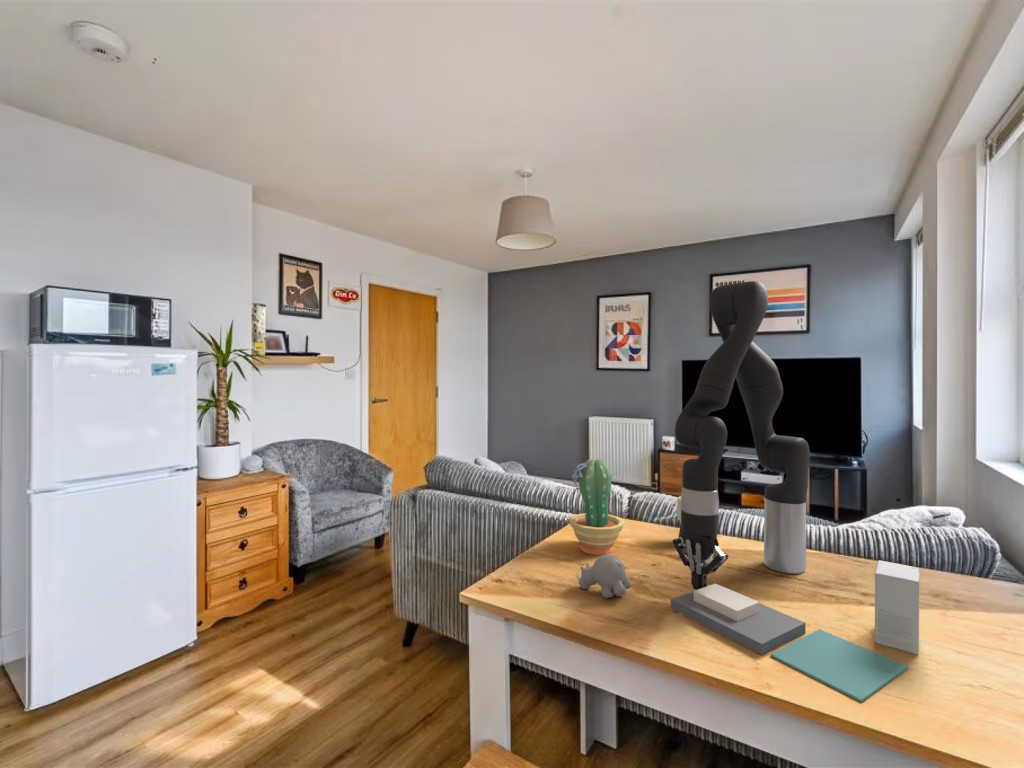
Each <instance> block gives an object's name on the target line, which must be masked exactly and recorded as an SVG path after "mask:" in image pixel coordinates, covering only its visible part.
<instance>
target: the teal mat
mask: <svg viewBox="0 0 1024 768" xmlns="http://www.w3.org/2000/svg"><path fill="white" fill-rule="evenodd" d="M770 657H772V658H773V659H775V660H777V661H779V662H781V663H783V664H786V665H787V666H789V667H791V668H793V669H795V670H797V671H798V672H800V673H803V674H804V675H807V676H809V677H811V678H813V679H815V680H817V681H819V682H821V683H823V684H825V685H826V686H829V687H831V688H832V689H834V690H836V691H838V692H840V693H842V694H844V695H846V696H848V697H850V698H851V699H854V700H856V701H858V702H860V703H863V702H864V701H866V700H867V699H868V698H870V697H871V696H873V695H874V694H875V693H876V692H878V691H880V690H881V689H882V688H884V687H885V686H887V684H889V683H890V682H892V681H893V680H895V679H896V678H898V677H899V676H900V675H901V674H903V673H904V672H906V671H907V670H908V669H909V666H908V665H906V664H904V663H902V662H898V661H896V660H893V659H891V658H889V657H887V656H884V655H882V654H879V653H877V652H875V651H872V650H870V649H868V648H865V647H863V646H861V645H859V644H856V643H854V642H851V641H849V640H846V639H844V638H842V637H840V636H838V635H835V634H832V633H830V632H828V631H825V630H822V629H820V628H819V629H816V630H814V631H813V632H811V633H809V634H807V635H805V636H803V637H801V638H800V639H797V640H795V641H794V642H791V643H790V644H789V643H788V645H786V646H784V647H781V648H780V649H778V650H776V651H774V652H773V653H770Z"/></svg>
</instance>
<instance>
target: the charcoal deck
mask: <svg viewBox="0 0 1024 768" xmlns="http://www.w3.org/2000/svg"><path fill="white" fill-rule="evenodd" d="M713 584H714V583H712V584H709V585H708V586H710V585H713ZM694 591H695V590H692V591H690V592H687V593H684V594H681V595H679V596H676V597H673V598H670V609H671V608H672V609H671V610H673V609H674V610H673V611H675V610H676V611H675V612H677V613H679V612H680V613H679V614H681V613H682V614H683V616H684V615H685V617H686V616H687V617H686V618H688V617H689V618H688V619H690V620H692V621H694V622H696V623H698V624H701V625H702V626H704V627H706V628H708V629H710V630H712V631H714V632H716V633H718V634H719V635H722V636H723V637H725V638H728V639H730V640H731V641H733V642H736V643H737V644H739V645H741V646H744V647H745V648H746V649H749V650H750V651H752V652H755V653H756V654H758V655H761V656H763V655H766V654H768V653H770V652H771V651H773V650H775V649H777V648H779V647H781V646H782V645H785V644H787V643H789V642H791V641H793V640H795V639H797V638H799V637H800V636H803V635H804V634H806V629H807V628H806V625H807V624H806V622H805V621H803V620H800V619H798V618H795V617H793V616H791V615H790V614H789V615H788V614H786V613H783V612H782V611H779V610H776V609H775V608H771V607H769V606H768V605H765V604H762V603H760V602H759V612H758V613H756V614H754V615H751V616H749V617H747V618H744V619H742V620H740V621H736V620H733V619H731V618H729V617H727V616H725V615H723V614H721V613H719V612H717V611H715V610H712V609H710V608H708V607H706V606H704V605H702V604H700V603H698V602H696V601H694ZM682 614H681V615H682Z"/></svg>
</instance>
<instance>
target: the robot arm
mask: <svg viewBox="0 0 1024 768" xmlns="http://www.w3.org/2000/svg"><path fill="white" fill-rule="evenodd" d="M768 306H769V294H768V291H767V289H766V287H765V285H764V284H763V283H762V282H759V281H756V280H752V281H751V280H750V281H742V282H736V283H729V284H724V285H719V286H716V287H715V288H713V289H712V292H711V294H710V296H709V308H710V312H711V316H712V319H713V322H714V324H715V326H716V329H717V331H718V333H719V335H720V337H721V341H722V343H721V345H720V346H719V347H718V348H717V349H716V350H715V351H714V352H713V353H712V354H711V355H710V357H709V358H708V359H707V360H706V362H705V363H704V365H703V367H702V370H701V372H700V374H699V378H698V381H697V384H696V387H695V390H694V392H693V395H692V396H691V397H690V399H689V400H688V402H687V403H686V405H685V406H684V408H683V409H682V411H681V412H680V414H679V415H678V418H677V419H676V421H675V425H674V435H675V439H676V441H677V443H679V444H680V445H681V446H683V447H688V448H694V449H700V453H699V456H698V457H697V458H689V459H687V460H685V461H684V462H683V464H682V480H681V482H682V485H681V486H682V488H681V493H680V494H681V495H680V496H681V521H680V524H681V528H682V530H683V531H682V533H681V537H679V536H678V537H677V538H673V539H672V545H673V547H674V548H675V550H676V553H677V554H678V556H679V558H680V560H681V562H682V564H683V565H684V567H688V568H689V570H690V573H691V582H690V583H691V585H692V589H693V590H694V591H695V590H698V589H701V588H704V587H707V586H708V575H709V574H713V573H715V572H717V570H718V569H719V568H721V566H722V565H723V564H724V563H725V562H726V561H727V560H728V559H729V555H728V553H726V552H723V551H722V550H721V549H720V548H719V546H720V545H719V540H718V538H717V536H718V533H719V522H720V521H719V520H720V519H719V518H720V517H719V515H720V514H719V513H720V512H719V510H720V509H719V508H720V504H719V503H720V500H719V499H720V498H719V490H718V489H719V488H718V484H719V479H718V478H719V475H718V473H719V468H720V465H721V464H720V463H721V461H722V457H723V453H724V449H725V448H726V444H727V440H728V429H727V425H726V424H725V422H724V420H722V419H721V418H719V417H717V416H711V415H709V414H710V413H712V412H716V411H718V410H724V409H725V408H726V407H727V405H728V403H729V400H730V397H731V394H732V390H733V388H734V383H735V380H736V383H737V386H738V389H739V392H740V395H741V398H742V401H743V403H744V406H745V409H746V413H747V417H748V419H749V423H750V428H751V432H752V437H753V441H754V449H755V452H756V456H757V460H758V462H759V464H760V466H761V467H762V468H763V469H765V470H767V471H771V472H777V473H783V474H786V476H785V480H784V481H782V482H778V483H772V484H768V485H765V487H764V492H763V493H764V498H763V499H764V507H763V509H764V514H763V515H764V516H763V517H764V519H763V520H764V523H763V565H764V566H765V567H766V568H768V569H770V570H773V571H776V572H780V573H784V574H792V575H793V574H796V575H797V574H802V573H804V572H805V571H806V567H807V530H806V529H807V525H806V524H807V493H808V489H809V473H810V460H811V459H810V458H811V457H810V456H811V453H810V451H811V450H810V445H809V443H808V441H807V440H805V438H803V437H796V436H788V435H778V434H776V433H775V431H774V428H773V417H774V415H775V414H776V412H777V409H778V408H779V406H780V404H781V401H782V399H783V395H784V386H783V382H782V380H781V376H780V372H779V369H778V367H777V365H776V363H775V362H774V361H773V360H772V358H771V357H770V356H768V354H767V353H766V352H764V350H762V349H761V348H760V347H759V346H758V345H757V344H756V343H755V342H754V341H753V340H754V338H755V336H756V335H757V332H758V331H759V329H760V327H761V324H762V323H763V320H764V319H765V316H766V313H767V310H768ZM711 559H712V560H711Z"/></svg>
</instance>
